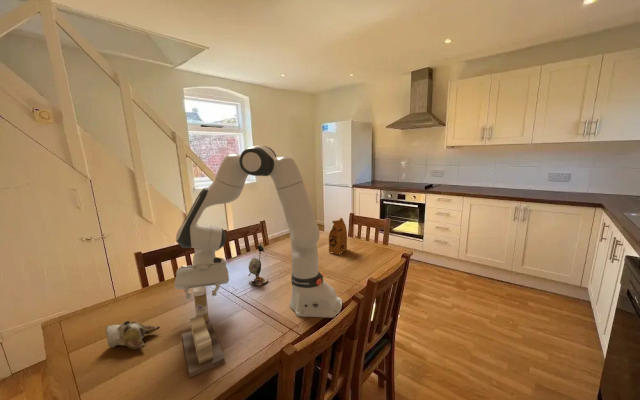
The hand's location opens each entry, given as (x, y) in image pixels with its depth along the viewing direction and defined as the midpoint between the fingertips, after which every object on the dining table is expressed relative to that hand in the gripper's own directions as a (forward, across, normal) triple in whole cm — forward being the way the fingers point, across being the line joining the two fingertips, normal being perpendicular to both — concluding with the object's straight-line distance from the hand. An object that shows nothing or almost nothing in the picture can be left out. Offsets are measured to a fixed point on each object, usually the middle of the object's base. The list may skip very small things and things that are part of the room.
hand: (201, 297), depth 100 cm
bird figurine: (-11, +21, +24) cm, 34 cm away
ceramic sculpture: (+13, -22, +1) cm, 25 cm away
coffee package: (-31, +73, +44) cm, 91 cm away
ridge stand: (+19, +3, -6) cm, 21 cm away
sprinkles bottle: (+8, 0, +6) cm, 9 cm away
